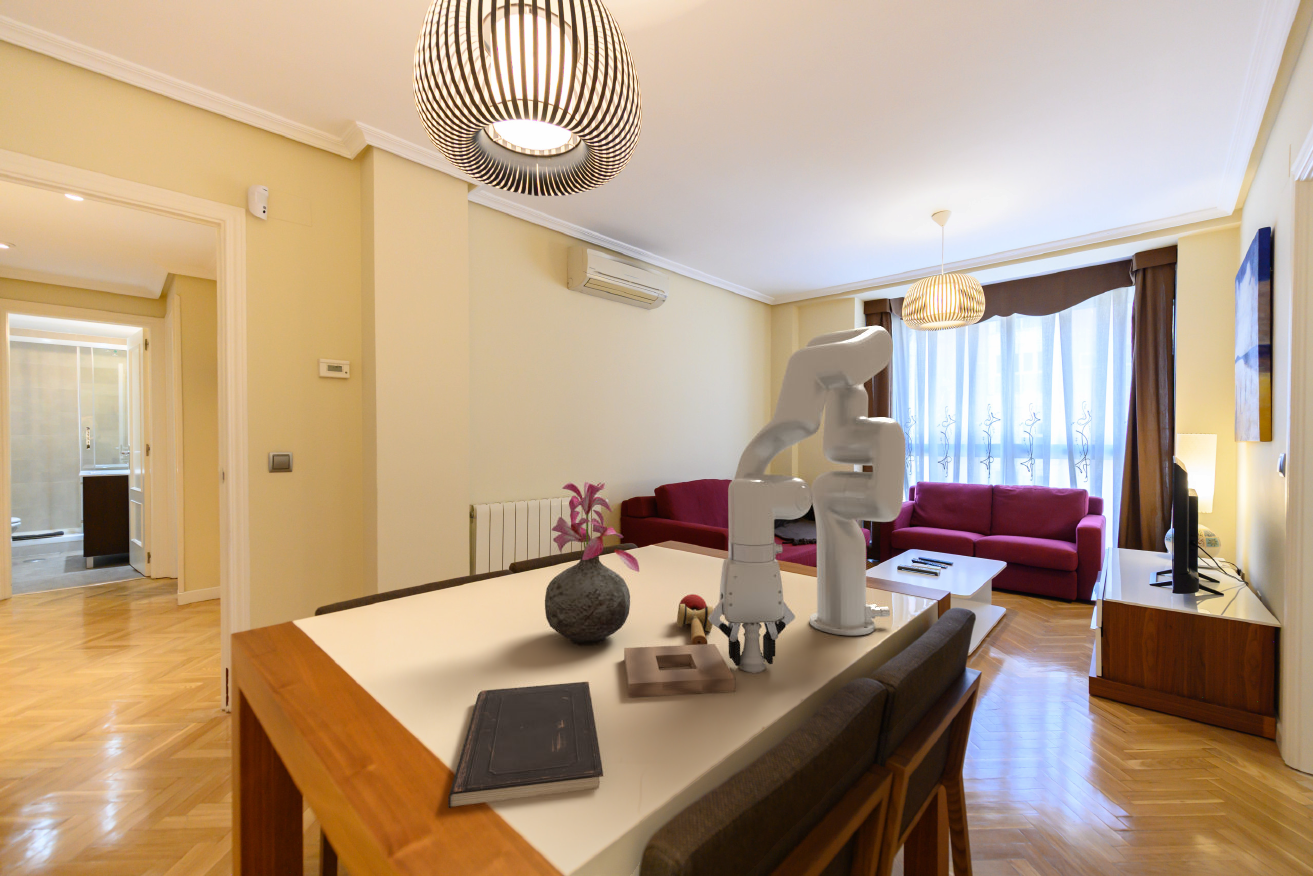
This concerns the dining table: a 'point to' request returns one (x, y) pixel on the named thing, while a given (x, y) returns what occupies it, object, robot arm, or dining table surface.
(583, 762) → the hardcover book
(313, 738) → the dining table surface
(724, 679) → the board
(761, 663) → the rook chess piece
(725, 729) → the dining table surface
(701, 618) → the kendama
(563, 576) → the vase
